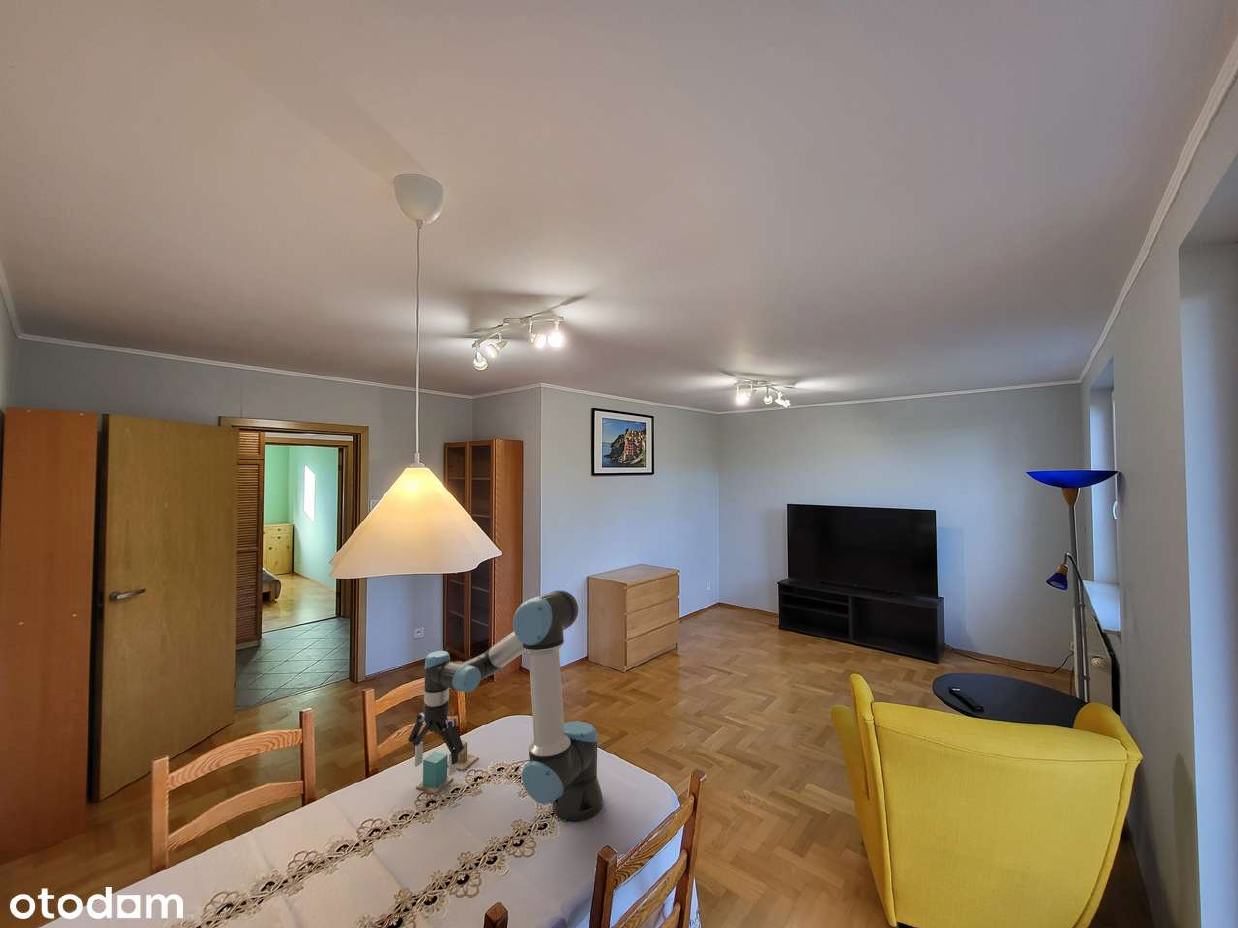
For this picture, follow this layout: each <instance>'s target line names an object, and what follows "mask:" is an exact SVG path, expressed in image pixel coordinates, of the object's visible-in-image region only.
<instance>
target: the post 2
mask: <svg viewBox="0 0 1238 928" xmlns="http://www.w3.org/2000/svg"><path fill="white" fill-rule="evenodd" d="M461 741H462V744H463V747H464V749H463V750H462V751H461V752H460V753H458V762H457V763H456V771H457V770H458V771H461V772H464V771H465V770H467V769H468V768H469V767H470V766H472V764H473V763H475V762H476V761H477V760H479V756H477V755H474V754H468V741H466V740H462V739H461ZM447 768H449V760H447Z"/></svg>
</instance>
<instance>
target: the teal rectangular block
mask: <svg viewBox="0 0 1238 928" xmlns="http://www.w3.org/2000/svg"><path fill="white" fill-rule="evenodd" d="M448 760H449V754H447V753H443V752H439V751H433V752H432V753H431V754H429V755H428V756H426V757H425V758H424V759H423V762H422V764H423V765H422V781H423V785H425V786H428V787H432V788H435V789H436V788H437V787H438V786H440V785H441V784H442V783H443V782H444V781H446V780H447V776H448V767H447V762H448Z"/></svg>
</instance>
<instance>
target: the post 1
mask: <svg viewBox="0 0 1238 928" xmlns="http://www.w3.org/2000/svg"><path fill="white" fill-rule="evenodd" d="M453 780H454V777H453V776H448V775H447V780H446V781H444V782H443V783H442V784H441V785H440V786H438V787H437V788H436V789H435V788H432V787H428V786H425V785H423V780H422V781H421V782H420V783H418V784H417V785H416V786H415V789H417V790H420V791H422V792H423V791H424V792H427V793H429V794H433V795H437V794H438V793H439V792H441V791H442V790H443V789H444V788H445V787H447V786H448V785H449V784H450V783H451V782H453Z"/></svg>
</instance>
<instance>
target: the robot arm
mask: <svg viewBox="0 0 1238 928" xmlns="http://www.w3.org/2000/svg"><path fill="white" fill-rule="evenodd" d="M578 615H579V604H578V601H577V599H576V598H575V596H573V595H572V593H570V592H568V591H565V590H554V591H551V592H548V593H545V594H543V595H539V596H536V597H535V596H534V597H531V598H530V599H528V600H526V601H524V602H522V603H521V604H520V605H519V606H518V607H517V608H516V611H515V612H514V615H513V620H512V629H513V631H512V632H511V633H509V634H507V635H506V636H505V637H504V638H502V639H501V640H499V641H498V642H497V643H495V644H494V645H493V646H491V647H490V648H488V649H487V650H486V651H485V652H483V653H480V654H479V655H477V656H475V657H474V656H473V658H470V659H468V660H467V659H466V661H465V660H464V661H462V662H455V661H453V660H452V661H451V657H450V653H449V652H448V651H447V650H437V651H432V652H430V653H428V654H427V655H426V656H425V660H424V661H425V662H424V667H423V668H424V690H423V691H424V694H423V703H424V704H423V711H422V712H420V713H419V714H417V715H416V720H415V721H416V722H415V724H414V727H412V728H413V729H412V730H411V733H410V735H409V737H408V743H412V745H413V755H414V767H415V768H416V767H418V766H420V765H421V764H423V760H424V759H423V757H424V756H423V755H424V751H423V750H424V741H422V740H423V739H424V738H425V737H426V735H427V734H428V732H431V733H435V734H438V735H439V736H440V737H442V739H443V741H444V743H445V745H446V747H447V749H448V751H449V752H450V753H449V754H448V761H449V767H448V769H447V776H449V777H452V776H453V774H455V773H456V772H457V769H456V763H457V762H458V753H460V752H461V751H462V750H463V749H464V747H463V744H462V741H463V740H462V737H461V736H460V733H459V730H458V728H457V720H456V718H453V719H449V718H448V713H449V709H450V708H449V707H450V705H449V703H450V701H449V699H450V696H449V695H450V690H451V689H452V690H454V691H457V692H460V693H461V692H464V693H471V692H473V691H475V690H476V688H477V687H478V686H479V684H480V682H481V681H482V680H484V679H486V678H488V677H490V676H492V675H494V674H497V673H498V672H500V671H502V670H503V669H504V668H505V666H506V665H507V664H509V663H511V662H512V661H513V660H515V659H516V658H518V657H519V656H521V655H522V654H523V653H525V652H527V654H528V661H529V662H528V663H529V677H530V678H529V682H530V695H531V710H532V711H531V714H532V729H533V731H532V732H533V739H532V741H531V742H530V744H529V746H528V755H529V757H528V759H529V761H528V762H527V763H526V764H525V765H524V767H523V768H522V769H523V770H522V772H521V782H522V786H523V788H524V790H525V792H526V793H527V795H529V796H530V798H531V799H532V800H533V801H535V802H537V803H539V804H542V805H550V804H552V811H553V812H554V813H555V815H556V816H558V817H559V818H561V819H563V820H565V821H570V822H582V821H586V820H589V819H591V818H593V817H595V816H596V815H597V814H598V813H600V811H601V810H602V808H603V792H602V789H601V785H600V783H599V779H598V741H599V740H598V732H597V731H598V730H597V729H596V727H595V726H594V725H593V724H591V723H589V722H584V721H569V722H565V721H564V719H565V718H564V717H565V716H564V707H563V703H564V702H563V691H562V678H561V677H562V676H561V675H562V674H561V660H560V658H561V657H560V649H561V647H562V646H563V645H564V643H565V641H564V640H565V639H564V631H565V630H566V629H569V628H570V627H571V626H572V625H573V624H574V623H576V620H577V618H578ZM424 723H425V726H424V727H423V725H424ZM461 740H462V741H461Z"/></svg>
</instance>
